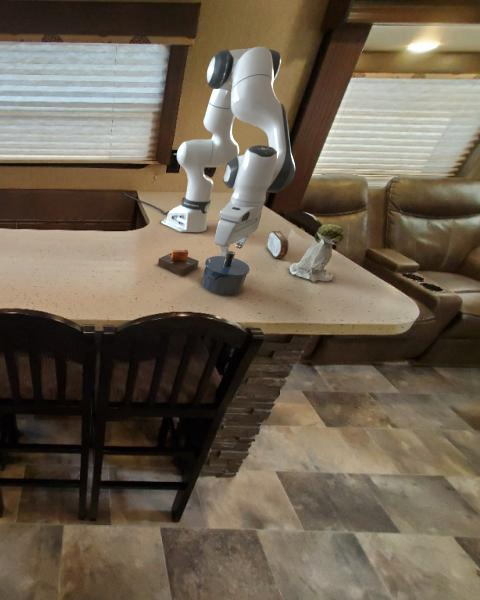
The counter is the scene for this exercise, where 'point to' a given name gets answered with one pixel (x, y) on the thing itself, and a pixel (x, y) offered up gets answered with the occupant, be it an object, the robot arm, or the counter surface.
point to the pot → (222, 283)
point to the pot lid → (227, 265)
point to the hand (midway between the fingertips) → (231, 251)
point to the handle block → (178, 264)
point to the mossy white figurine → (319, 254)
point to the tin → (277, 244)
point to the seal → (179, 255)
